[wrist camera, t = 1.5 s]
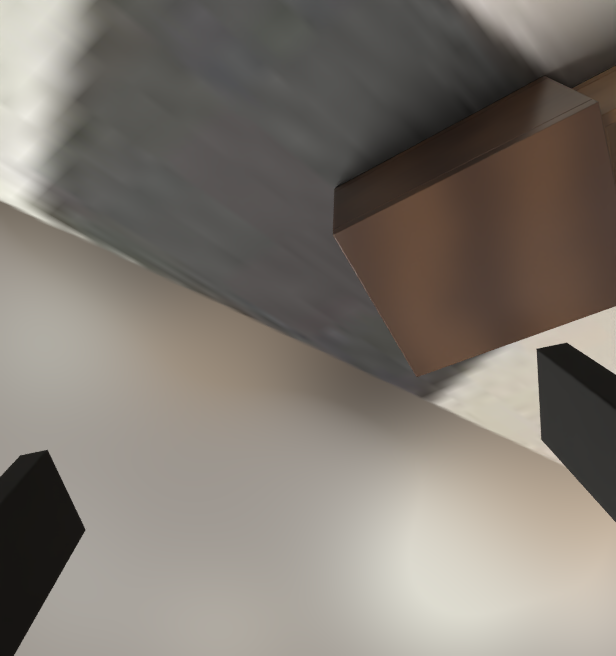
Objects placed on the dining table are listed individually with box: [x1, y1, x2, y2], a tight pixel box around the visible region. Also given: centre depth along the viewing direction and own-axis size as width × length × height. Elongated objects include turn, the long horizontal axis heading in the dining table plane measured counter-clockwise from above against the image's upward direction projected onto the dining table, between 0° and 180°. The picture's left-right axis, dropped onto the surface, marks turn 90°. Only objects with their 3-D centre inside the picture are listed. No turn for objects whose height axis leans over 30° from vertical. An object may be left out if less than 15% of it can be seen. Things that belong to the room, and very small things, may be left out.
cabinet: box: [333, 76, 616, 377], centre depth 35 cm, size 17×15×9 cm
